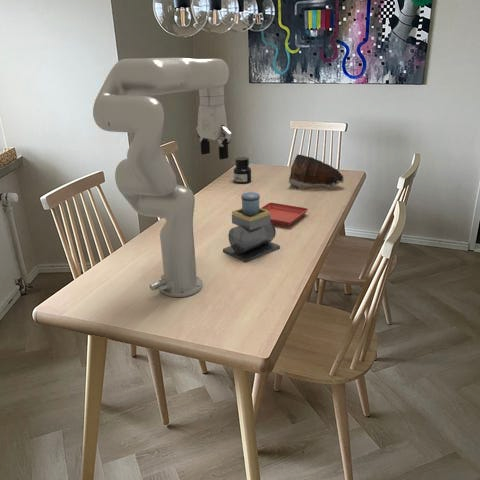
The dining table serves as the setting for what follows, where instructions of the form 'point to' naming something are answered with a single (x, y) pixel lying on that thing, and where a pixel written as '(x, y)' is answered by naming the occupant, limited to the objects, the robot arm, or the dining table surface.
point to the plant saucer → (284, 213)
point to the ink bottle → (242, 170)
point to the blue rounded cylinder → (250, 203)
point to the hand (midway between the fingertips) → (214, 156)
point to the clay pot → (313, 173)
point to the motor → (251, 235)
